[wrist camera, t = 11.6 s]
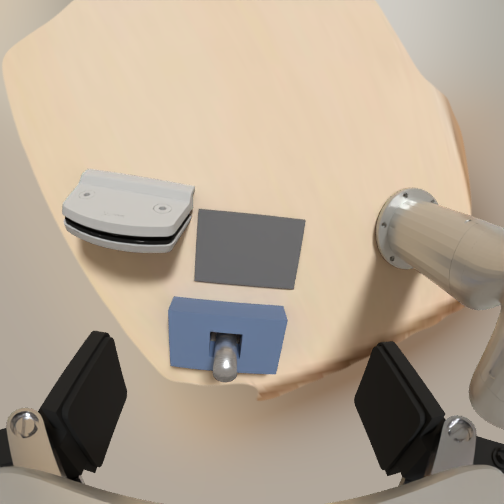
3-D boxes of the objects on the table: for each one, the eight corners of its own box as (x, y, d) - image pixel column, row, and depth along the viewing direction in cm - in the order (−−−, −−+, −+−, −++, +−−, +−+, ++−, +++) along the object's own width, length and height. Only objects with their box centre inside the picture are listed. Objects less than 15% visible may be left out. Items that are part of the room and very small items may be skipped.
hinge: (197, 186, 36) (178, 229, 28) (193, 217, 39) (175, 264, 31) (85, 168, 34) (45, 202, 26) (87, 197, 37) (51, 236, 29)
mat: (305, 219, 38) (305, 220, 37) (293, 288, 41) (293, 289, 40) (199, 208, 37) (198, 209, 36) (194, 279, 40) (194, 280, 39)
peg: (237, 322, 42) (238, 365, 33) (235, 338, 43) (235, 383, 34) (217, 321, 42) (213, 364, 32) (216, 337, 43) (212, 381, 33)
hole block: (283, 306, 42) (287, 320, 38) (272, 358, 45) (275, 374, 41) (173, 296, 40) (168, 309, 36) (174, 350, 43) (170, 365, 40)
